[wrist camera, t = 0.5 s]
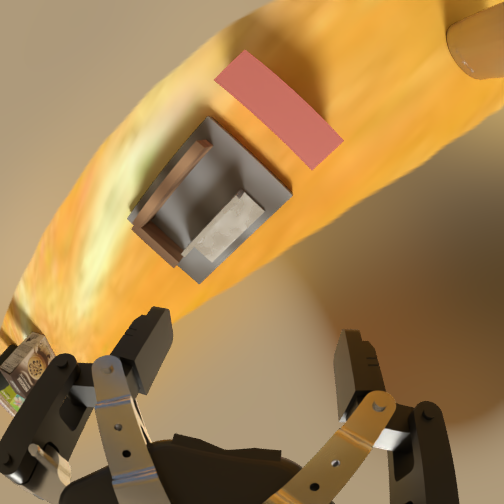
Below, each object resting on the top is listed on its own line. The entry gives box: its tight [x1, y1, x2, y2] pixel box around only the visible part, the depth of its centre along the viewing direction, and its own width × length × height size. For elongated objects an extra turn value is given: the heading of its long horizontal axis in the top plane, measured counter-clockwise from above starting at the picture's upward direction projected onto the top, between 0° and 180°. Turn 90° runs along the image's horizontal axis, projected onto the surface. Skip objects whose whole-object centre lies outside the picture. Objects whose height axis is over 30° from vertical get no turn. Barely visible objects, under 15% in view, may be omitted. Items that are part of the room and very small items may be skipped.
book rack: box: [127, 116, 293, 284], centre depth 34 cm, size 18×14×6 cm
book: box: [214, 50, 344, 170], centre depth 27 cm, size 4×12×10 cm, turn 46°
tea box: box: [0, 385, 25, 417], centre depth 65 cm, size 15×10×15 cm, turn 28°
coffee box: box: [0, 332, 56, 399], centre depth 49 cm, size 9×6×16 cm
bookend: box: [181, 188, 265, 262], centre depth 34 cm, size 10×4×4 cm, turn 136°
